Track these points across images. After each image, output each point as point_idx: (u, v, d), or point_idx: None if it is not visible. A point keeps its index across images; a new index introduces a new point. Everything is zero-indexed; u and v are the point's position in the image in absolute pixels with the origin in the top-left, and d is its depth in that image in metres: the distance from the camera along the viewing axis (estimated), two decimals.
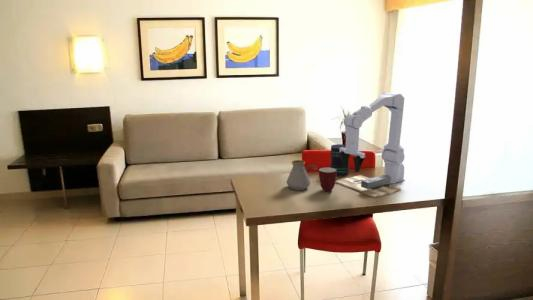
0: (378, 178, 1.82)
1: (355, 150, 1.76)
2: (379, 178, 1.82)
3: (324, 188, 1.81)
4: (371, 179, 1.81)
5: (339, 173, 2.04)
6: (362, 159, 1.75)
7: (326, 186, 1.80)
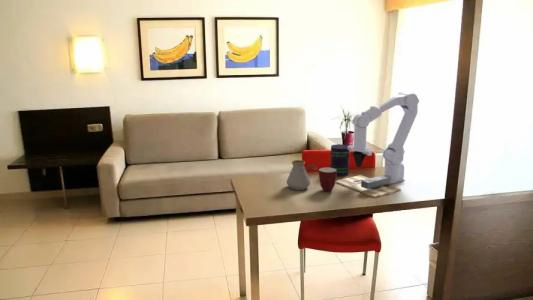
0: (378, 178, 1.82)
1: (363, 148, 1.86)
2: (379, 178, 1.82)
3: (324, 188, 1.81)
4: (371, 179, 1.81)
5: (339, 173, 2.04)
6: (364, 155, 1.89)
7: (326, 186, 1.80)
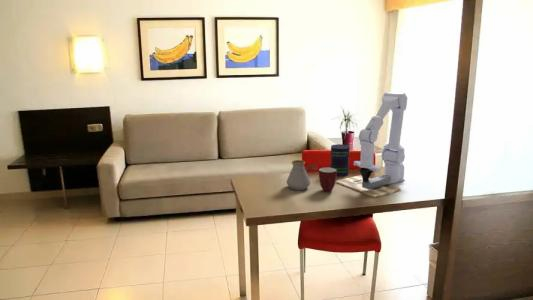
0: (378, 178, 1.82)
1: (370, 164, 1.77)
2: (380, 178, 1.82)
3: (324, 188, 1.81)
4: (372, 179, 1.80)
5: (339, 173, 2.04)
6: (370, 171, 1.79)
7: (326, 186, 1.80)
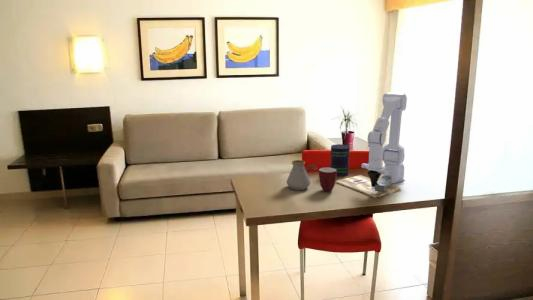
0: (384, 179, 1.80)
1: (378, 167, 1.73)
2: (385, 179, 1.80)
3: (324, 188, 1.81)
4: (381, 181, 1.77)
5: (339, 173, 2.04)
6: (379, 174, 1.75)
7: (326, 186, 1.80)
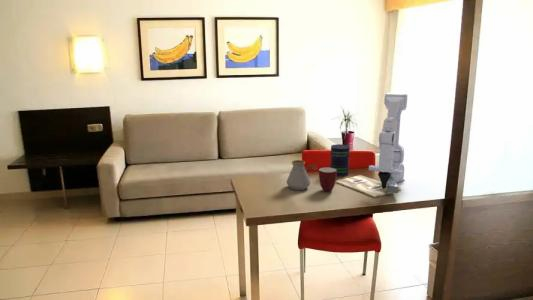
0: (390, 180, 1.79)
1: (391, 168, 1.71)
2: (390, 179, 1.80)
3: (324, 188, 1.81)
4: (390, 182, 1.76)
5: (339, 173, 2.04)
6: (389, 175, 1.73)
7: (326, 186, 1.80)
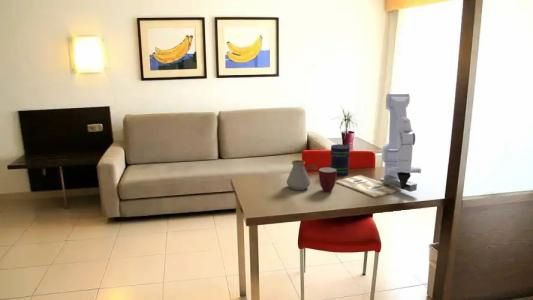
0: (398, 179, 1.80)
1: None
2: (398, 179, 1.81)
3: (324, 188, 1.81)
4: None
5: (339, 173, 2.04)
6: None
7: (326, 186, 1.80)
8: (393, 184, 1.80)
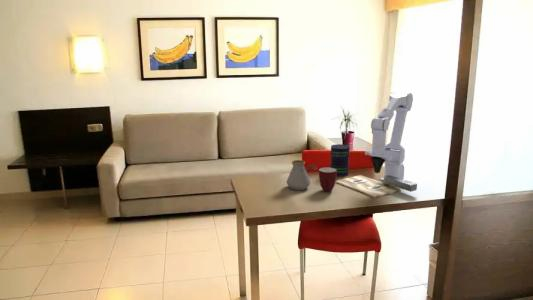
0: (398, 179, 1.80)
1: (382, 153, 1.76)
2: (398, 179, 1.81)
3: (324, 188, 1.81)
4: (404, 181, 1.77)
5: (339, 173, 2.04)
6: (383, 160, 1.79)
7: (326, 186, 1.80)
8: (393, 184, 1.80)
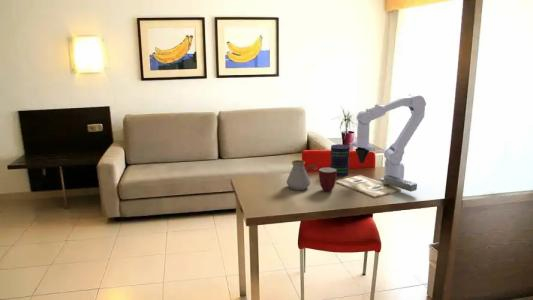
0: (398, 179, 1.80)
1: (366, 144, 1.90)
2: (398, 179, 1.81)
3: (324, 188, 1.81)
4: (404, 181, 1.77)
5: (339, 173, 2.04)
6: (367, 151, 1.92)
7: (326, 186, 1.80)
8: (393, 184, 1.80)
